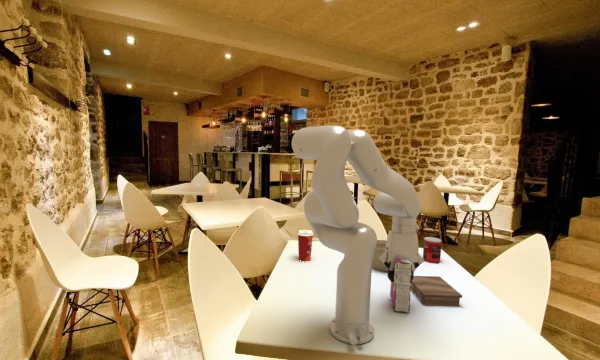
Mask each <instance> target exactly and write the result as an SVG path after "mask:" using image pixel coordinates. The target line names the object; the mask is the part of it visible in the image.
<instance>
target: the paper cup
mask: <svg viewBox="0 0 600 360" xmlns="http://www.w3.org/2000/svg"><path fill="white" fill-rule="evenodd" d="M313 237H314V231H313V230H311V229H300V230H298V233H297V242H298V243H297V245H298V247H297V248H298V260H299V261H300V260H301V261H300V262H302V261H308V262H310V261H311V258H312V257H311V256H312V246H313Z"/></svg>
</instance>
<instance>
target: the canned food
mask: <svg viewBox="0 0 600 360" xmlns="http://www.w3.org/2000/svg"><path fill="white" fill-rule="evenodd" d="M422 250H423V251H422V258H423V259H424V262H426V263H429V264H439V263H440V262H441V258H442V257H441V256H442V255H441V254H442V239H440V238H439V237H434V236H433V237H432V236H426V237H424V238H423V249H422Z"/></svg>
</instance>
